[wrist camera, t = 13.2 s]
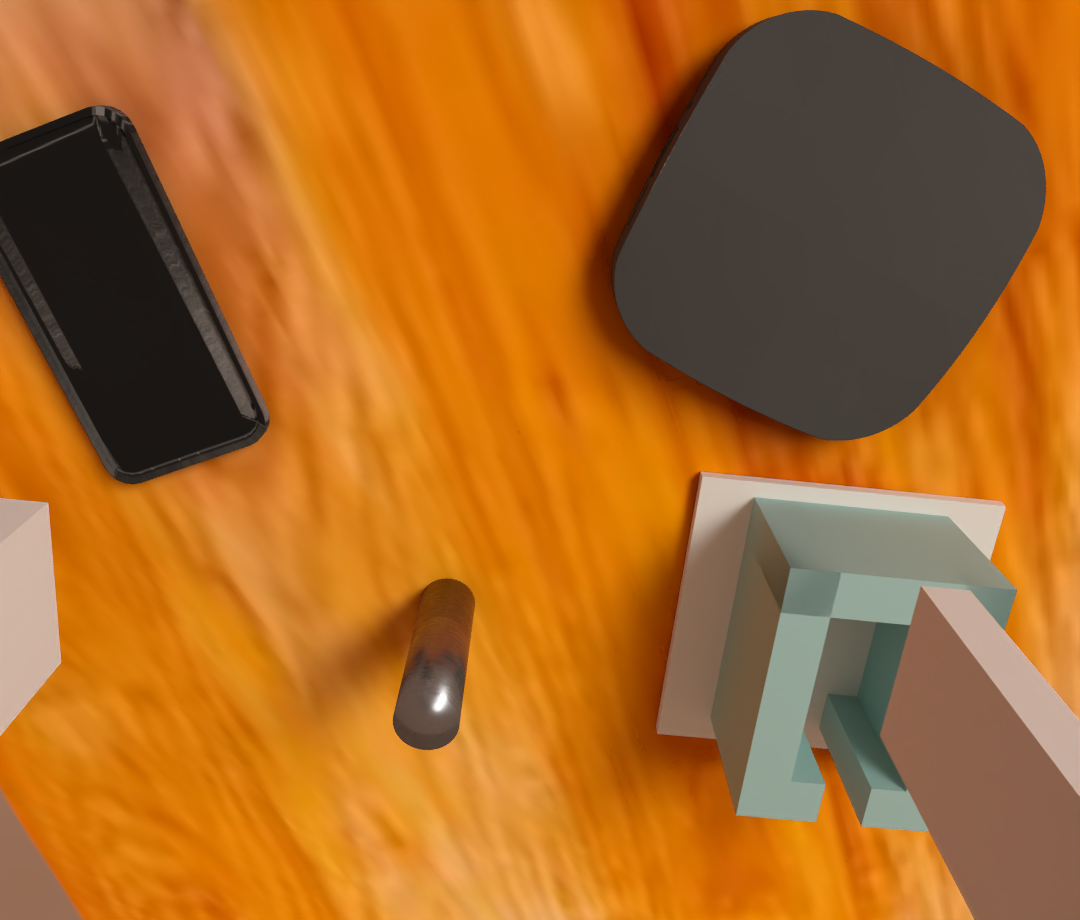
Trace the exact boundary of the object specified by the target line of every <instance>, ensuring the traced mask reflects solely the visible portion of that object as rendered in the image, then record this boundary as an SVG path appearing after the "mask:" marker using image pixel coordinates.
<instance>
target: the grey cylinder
mask: <svg viewBox="0 0 1080 920" xmlns="http://www.w3.org/2000/svg"><path fill="white" fill-rule="evenodd" d="M474 608H475V599H474V596H473V593H472V592H471V590H470V589H469V588H468V587H467V586H466V585H465V584H463V583H462V582H460V581H457V580H454V579H441V580H437V581H435V582H433V583H431V584H430V585H429V586H427V588H426V589H425V590H424V592H423V594H422V597H421V601H420V606H419V610H418V614H417V618H416V623H415V627H414V631H413V635H412V640H411V644H410V648H409V652H408V656H407V661H406V665H405V669H404V673H403V678H402V682H401V686H400V690H399V695H398V699H397V703H396V707H395V711H394V716H393V726H394V729H395V732H396V734H397V735H398V736H399V738H400V739H401V740H402V741H403V742H405V743H406V744H408V745H410V746H412V747H414V748H417V749H422V750H433V749H438V748H441V747H443V746H445V745H447V744H448V743H450V742H451V741H452V740H453V739H454V737H455V736H456V734H457V732H458V729H459V723H460V716H461V708H462V700H463V693H464V685H465V677H466V670H467V662H468V654H469V647H470V639H471V631H472V624H473V616H474Z"/></svg>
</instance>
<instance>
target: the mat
mask: <svg viewBox="0 0 1080 920" xmlns="http://www.w3.org/2000/svg"><path fill="white" fill-rule="evenodd" d="M754 497H759V498H769V499H779V500H789V501H799V502H809V503H819V504H829V505H839V506H849V507H859V508H869V509H880V510H890V511H900V512H910V513H920V514H930V515H940V516H948V517H949V518H950V519H951V520H952V521H953V522H954V523H955V524H956V525H957V526H958V527H959V528H960V529H961V530H962V531H963V533H964V534H965V535H966V536H967V537H968V538H969V539H970V540H971V541H972V542H973V543H974V544H975V545H976V546H977V548H978V549H979V550H980V551H981V552H982V553H983V554H984V555H985V556H986V557H987V558H988V559H989V560H990V559H991V555H992V552H993V549H994V545H995V542H996V539H997V535H998V532H999V528H1000V525H1001V522H1002V518H1003V515H1004V512H1005V508H1006V506H1005V505H1004V504H1003V503H1002V502H1001V501H994V500H984V499H973V498H963V497H953V496H943V495H933V494H923V493H913V492H902V491H892V490H882V489H872V488H862V487H852V486H842V485H831V484H821V483H811V482H801V481H791V480H781V479H771V478H761V477H750V476H740V475H730V474H720V473H710V472H700V478H699V483H698V489H697V495H696V501H695V506H694V512H693V518H692V523H691V529H690V535H689V541H688V546H687V552H686V558H685V563H684V569H683V575H682V581H681V586H680V592H679V598H678V603H677V609H676V615H675V620H674V626H673V632H672V638H671V643H670V649H669V655H668V660H667V666H666V672H665V678H664V683H663V689H662V695H661V700H660V706H659V712H658V717H657V723H656V730H657V734H664V735H675V736H686V737H698V738H709V739H716V737H715V733H714V730H713V726H712V722H711V718H710V716H711V711H712V706H713V701H714V696H715V691H716V686H717V681H718V676H719V671H720V666H721V661H722V656H723V651H724V646H725V641H726V636H727V631H728V626H729V621H730V616H731V611H732V606H733V601H734V596H735V591H736V586H737V582H738V577H739V572H740V567H741V562H742V557H743V552H744V547H745V542H746V537H747V532H748V527H749V522H750V517H751V512H752V507H753V502H754ZM876 623H877V622H871V621H861V620H850V619H840V618H830V622H829V626H828V630H827V634H826V638H825V642H824V646H823V651H822V655H821V659H820V663H819V667H818V671H817V675H816V679H815V684H814V688H813V692H812V696H811V700H810V704H809V708H808V713H807V717H806V721H805V725H804V729H803V730H804V732H805V735H806V737H807V740H808V742H809V745H810V747H811V748H821V749H828V747H827V745H826V743H825V740H824V738H823V736H822V733H821V731H820V729H819V725H820V721H821V717H822V713H823V709H824V705H825V701H826V697H827V694H837V695H847V696H857V695H858V692H859V688H860V684H861V680H862V676H863V673H864V669H865V665H866V661H867V657H868V653H869V650H870V646H871V642H872V638H873V634H874V630H875V627H876Z"/></svg>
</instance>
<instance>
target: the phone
mask: <svg viewBox="0 0 1080 920" xmlns="http://www.w3.org/2000/svg"><path fill="white" fill-rule="evenodd" d="M0 276H1V277H2V279H3V281H4V283H5V285H6V287H7V288H8V290H9V292H10V294H11V296H12V298H13V299H14V301H15V303H16V305H17V307H18V309H19V310H20V312H21V314H22V316H23V318H24V320H25V321H26V323H27V325H28V327H29V329H30V331H31V332H32V334H33V336H34V338H35V340H36V342H37V343H38V345H39V347H40V349H41V351H42V353H43V354H44V356H45V358H46V360H47V362H48V364H49V365H50V367H51V369H52V371H53V373H54V375H55V376H56V378H57V380H58V382H59V384H60V386H61V388H62V389H63V391H64V393H65V395H66V397H67V399H68V400H69V402H70V404H71V406H72V408H73V410H74V411H75V413H76V415H77V417H78V419H79V421H80V422H81V424H82V426H83V428H84V430H85V432H86V433H87V435H88V437H89V439H90V441H91V443H92V444H93V446H94V448H95V450H96V452H97V454H98V455H99V457H100V459H101V461H102V463H103V465H104V467H105V468H106V470H107V471H108V472H109V474H110V475H111V476H113V477H114V478H115V479H116V480H118V481H121V482H123V483H128V484H137V483H142V482H144V481H147V480H150V479H153V478H156V477H159V476H162V475H165V474H168V473H171V472H174V471H177V470H180V469H182V468H185V467H188V466H191V465H194V464H197V463H200V462H203V461H206V460H209V459H212V458H215V457H217V456H220V455H223V454H226V453H229V452H232V451H235V450H238V449H241V448H244V447H247V446H250V445H252V444H254V443H255V442H257V441H258V440H259V439H260V438H261V437H262V435H263V434H264V433H265V432H266V431H267V428H268V426H269V418H270V416H269V412H268V409H267V407H266V405H265V402H264V400H263V398H262V396H261V394H260V392H259V390H258V388H257V385H256V383H255V381H254V379H253V377H252V375H251V373H250V371H249V369H248V366H247V364H246V362H245V360H244V358H243V356H242V354H241V352H240V349H239V347H238V345H237V343H236V341H235V339H234V337H233V335H232V332H231V330H230V328H229V326H228V324H227V322H226V320H225V318H224V316H223V313H222V311H221V309H220V307H219V305H218V303H217V301H216V299H215V296H214V294H213V292H212V290H211V288H210V286H209V284H208V282H207V280H206V277H205V275H204V273H203V271H202V269H201V267H200V265H199V263H198V260H197V258H196V256H195V254H194V252H193V250H192V248H191V246H190V243H189V241H188V239H187V237H186V235H185V233H184V231H183V229H182V227H181V224H180V222H179V220H178V218H177V216H176V214H175V212H174V210H173V207H172V205H171V203H170V201H169V199H168V197H167V195H166V193H165V190H164V188H163V186H162V184H161V182H160V180H159V178H158V176H157V174H156V171H155V169H154V167H153V165H152V163H151V161H150V159H149V157H148V154H147V152H146V150H145V148H144V146H143V144H142V142H141V140H140V138H139V135H138V133H137V131H136V129H135V127H134V125H133V124H132V122H131V121H130V119H129V118H128V117H127V116H126V115H125V114H124V113H123V112H122V111H120V110H118V109H116V108H114V107H109V106H93V107H88V108H85V109H82V110H80V111H77V112H74V113H72V114H69V115H67V116H64V117H62V118H59V119H57V120H54V121H52V122H49V123H47V124H44V125H42V126H39V127H37V128H34V129H31V130H29V131H26V132H24V133H21V134H19V135H16V136H14V137H11V138H9V139H6V140H4V141H1V142H0Z"/></svg>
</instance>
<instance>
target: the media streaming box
mask: <svg viewBox="0 0 1080 920" xmlns="http://www.w3.org/2000/svg"><path fill="white" fill-rule="evenodd" d="M1045 195H1046V179H1045V170H1044V165H1043V161H1042V157H1041V154H1040V151H1039V149H1038V146H1037V144H1036V142H1035V140H1034V139H1033V137H1032V135H1031V134H1030V132H1029V131H1028V130H1027V129H1026V127H1025V126H1024V125H1023V124H1021V123H1020V122H1019V121H1017V120H1016V119H1015V118H1013V117H1012V116H1011V115H1009V114H1008V113H1007V112H1005V111H1004V110H1003V109H1001V108H1000V107H998V106H997V105H996V104H994V103H993V102H991V101H990V100H988V99H987V98H986V97H984V96H983V95H981V94H980V93H978V92H977V91H975V90H974V89H972V88H971V87H969V86H967V85H966V84H964V83H963V82H961V81H960V80H958V79H957V78H955V77H953V76H952V75H950V74H948V73H947V72H945V71H944V70H942V69H940V68H939V67H937V66H935V65H933V64H932V63H930V62H928V61H927V60H925V59H923V58H921V57H920V56H918V55H916V54H914V53H913V52H911V51H909V50H907V49H905V48H903V47H902V46H900V45H898V44H896V43H894V42H892V41H890V40H888V39H887V38H885V37H883V36H881V35H879V34H877V33H875V32H873V31H871V30H869V29H867V28H865V27H863V26H861V25H859V24H857V23H855V22H852V21H850V20H848V19H846V18H844V17H842V16H840V15H838V14H834V13H830V12H825V11H817V10H804V11H795V12H789V13H785V14H782V15H778V16H775V17H771V18H768V19H765V20H763V21H760V22H758V23H756V24H754V25H752V26H750V27H748V28H747V29H745V30H744V31H742V32H741V33H739V34H738V35H737V36H736V37H734V38H733V39H732V40H731V41H730V42H729V43H728V44H727V45H726V46H725V47H724V48H723V49H722V50H721V51H720V53H719V54H718V56H717V57H716V59H715V61H714V62H713V64H712V66H711V67H710V69H709V71H708V72H707V74H706V76H705V77H704V79H703V81H702V82H701V84H700V86H699V87H698V89H697V91H696V92H695V94H694V96H693V98H692V99H691V101H690V103H689V104H688V106H687V108H686V110H685V112H684V113H683V115H682V117H681V119H680V120H679V122H678V124H677V126H676V128H675V129H674V131H673V133H672V135H671V137H670V138H669V140H668V142H667V144H666V146H665V148H664V150H663V151H662V153H661V155H660V157H659V159H658V161H657V163H656V165H655V167H654V169H653V171H652V172H651V174H650V176H649V178H648V180H647V182H646V184H645V186H644V188H643V190H642V192H641V194H640V196H639V198H638V200H637V202H636V204H635V207H634V209H633V211H632V213H631V215H630V217H629V219H628V221H627V223H626V225H625V228H624V230H623V232H622V234H621V236H620V238H619V241H618V243H617V245H616V247H615V251H614V255H613V260H612V271H611V276H612V287H613V292H614V296H615V300H616V303H617V306H618V309H619V312H620V314H621V317H622V319H623V321H624V323H625V325H626V327H627V328H628V330H629V332H630V333H631V334H632V336H633V337H634V338H635V339H636V341H637V342H638V343H639V344H640V345H641V346H642V347H643V348H644V349H646V350H647V351H648V352H650V353H652V354H653V355H655V356H656V357H658V358H660V359H661V360H663V361H664V362H666V363H668V364H669V365H671V366H673V367H674V368H676V369H678V370H680V371H681V372H683V373H685V374H686V375H688V376H690V377H692V378H693V379H695V380H697V381H699V382H700V383H702V384H704V385H706V386H708V387H710V388H711V389H713V390H715V391H717V392H719V393H721V394H723V395H725V396H727V397H728V398H730V399H732V400H734V401H736V402H738V403H740V404H742V405H744V406H746V407H748V408H750V409H752V410H755V411H757V412H759V413H761V414H763V415H765V416H767V417H770V418H772V419H774V420H776V421H779V422H781V423H783V424H785V425H788V426H790V427H792V428H795V429H797V430H800V431H802V432H804V433H807V434H809V435H812V436H815V437H817V438H820V439H826V440H853V439H859V438H863V437H867V436H870V435H873V434H876V433H879V432H881V431H883V430H886V429H888V428H890V427H892V426H893V425H895V424H897V423H898V422H900V421H901V420H903V419H904V418H906V417H907V416H908V415H909V414H911V413H912V412H913V411H914V410H915V409H916V408H917V407H918V406H919V404H920V403H921V402H922V401H923V400H924V399H925V398H926V396H927V395H928V394H929V393H930V392H931V390H932V389H933V388H934V387H935V386H936V384H937V383H938V382H939V381H940V379H941V378H942V377H943V376H944V374H945V373H946V372H947V371H948V369H949V368H950V367H951V366H952V364H953V363H954V362H955V360H956V359H957V358H958V356H959V355H960V354H961V352H962V351H963V350H964V348H965V347H966V345H967V344H968V343H969V341H970V340H971V338H972V337H973V336H974V334H975V333H976V331H977V330H978V328H979V327H980V326H981V324H982V323H983V321H984V320H985V318H986V317H987V315H988V314H989V312H990V311H991V309H992V308H993V306H994V305H995V303H996V301H997V300H998V298H999V297H1000V295H1001V293H1002V292H1003V290H1004V289H1005V287H1006V285H1007V284H1008V282H1009V280H1010V279H1011V277H1012V275H1013V274H1014V272H1015V270H1016V268H1017V267H1018V265H1019V263H1020V261H1021V260H1022V258H1023V256H1024V254H1025V252H1026V251H1027V249H1028V247H1029V245H1030V243H1031V241H1032V239H1033V238H1034V236H1035V234H1036V232H1037V230H1038V228H1039V225H1040V222H1041V218H1042V214H1043V210H1044V204H1045Z"/></svg>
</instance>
